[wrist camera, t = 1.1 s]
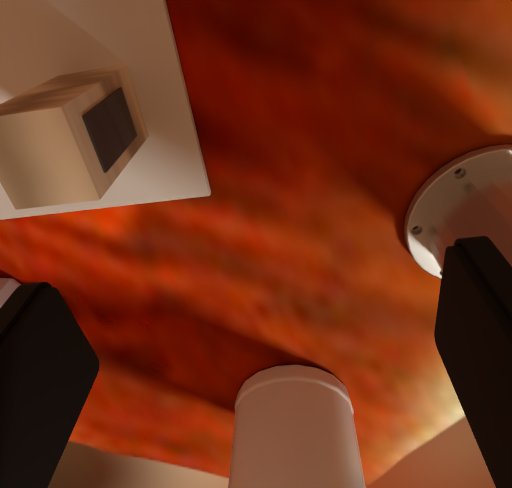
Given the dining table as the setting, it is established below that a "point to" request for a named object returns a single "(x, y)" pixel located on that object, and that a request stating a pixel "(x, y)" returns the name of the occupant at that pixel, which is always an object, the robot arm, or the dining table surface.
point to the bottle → (294, 432)
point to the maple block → (69, 137)
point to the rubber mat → (104, 56)
